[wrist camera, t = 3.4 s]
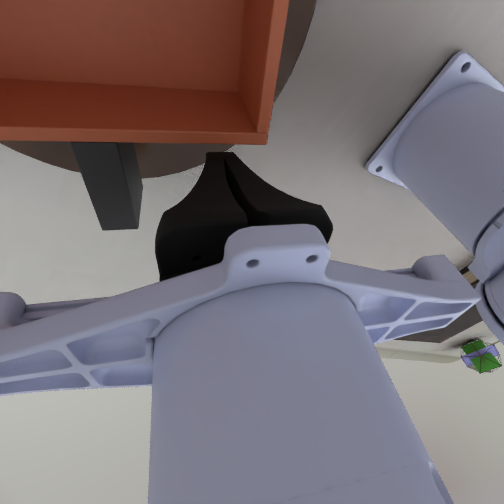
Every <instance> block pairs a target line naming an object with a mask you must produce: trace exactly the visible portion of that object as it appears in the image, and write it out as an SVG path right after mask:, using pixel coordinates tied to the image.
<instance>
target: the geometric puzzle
mask: <svg viewBox="0 0 504 504" xmlns="http://www.w3.org/2000/svg"><path fill="white" fill-rule="evenodd" d="M469 341H470V340H469ZM471 341H472V340H471ZM467 344H468V343H467ZM487 344H488V343H487ZM487 344H486V345H487ZM487 346H488V345H487ZM461 349H463V351H462V352H465V353H466V355H465V356H462V355H461V356H462V357H461V358H462V360H463V361H464V362H465V364H466V365H467V367H469V368H472V369H474V370H476V371H478V372H479V373H480V374H481V373H483V372H491V371H490V370H491V369H494V368H497V367H500V366H502V365H501V364H500V363H499V362H498V361H497V360H496V358H495V356H498V355H500V354H499V352H498V351H497V349H496V347H495V345H494V344H493V345H492V346H489V347H486V346H485V345H484V344H483V340H482V341H481V339H480V340H478V341H475V342H473V343H470V344H468V345H465V346H462V347H461ZM462 354H463V353H462ZM463 355H464V354H463Z"/></svg>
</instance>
